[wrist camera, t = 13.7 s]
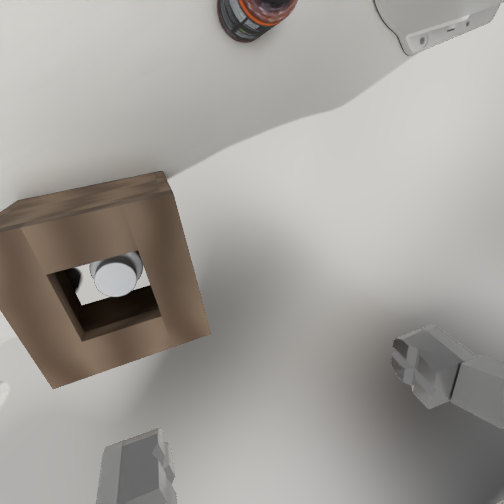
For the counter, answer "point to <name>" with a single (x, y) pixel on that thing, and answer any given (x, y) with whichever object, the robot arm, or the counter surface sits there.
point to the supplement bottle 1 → (117, 273)
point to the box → (91, 250)
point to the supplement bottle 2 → (252, 16)
